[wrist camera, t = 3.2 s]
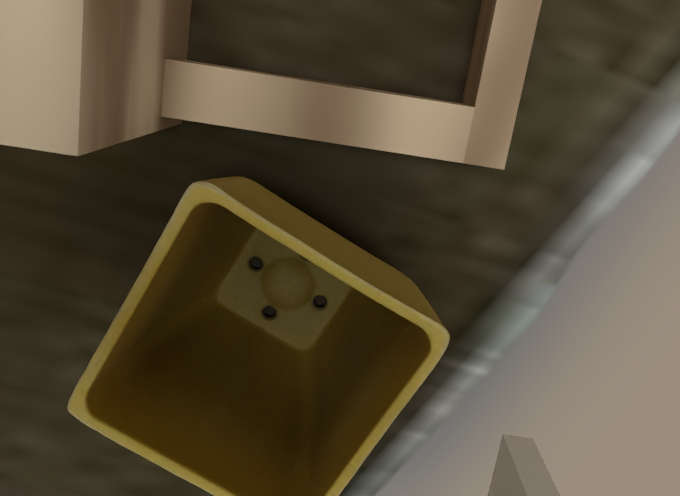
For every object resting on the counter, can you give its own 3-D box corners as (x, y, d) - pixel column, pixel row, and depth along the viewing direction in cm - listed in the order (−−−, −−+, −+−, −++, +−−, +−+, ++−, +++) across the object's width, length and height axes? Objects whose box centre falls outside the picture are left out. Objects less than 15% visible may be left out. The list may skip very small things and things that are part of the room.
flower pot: (149, 307, 28) (57, 414, 19) (247, 139, 26) (193, 175, 17) (318, 404, 29) (303, 547, 20) (426, 250, 27) (459, 336, 18)
